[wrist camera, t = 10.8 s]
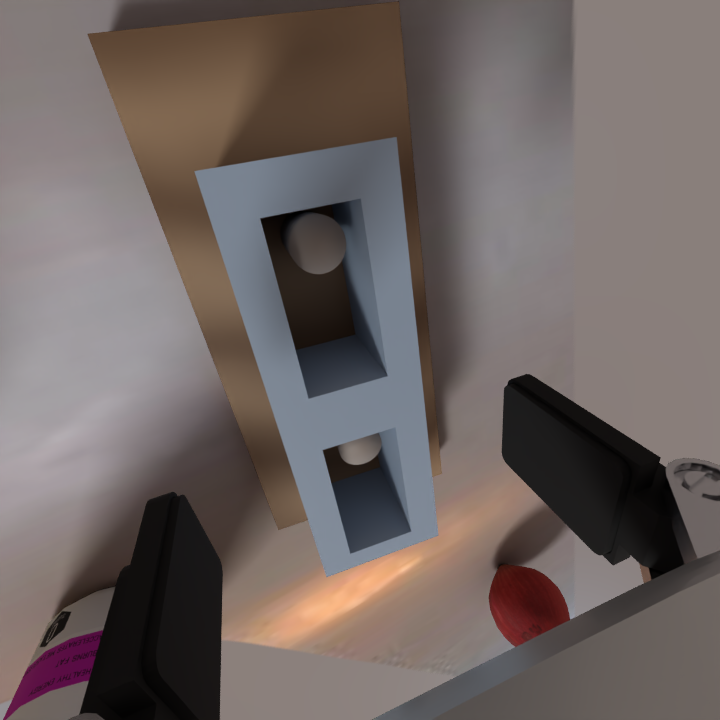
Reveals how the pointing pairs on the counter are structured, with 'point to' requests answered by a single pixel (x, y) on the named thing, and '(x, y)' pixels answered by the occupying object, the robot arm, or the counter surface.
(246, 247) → the two-pocket blue tray
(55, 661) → the supplement can
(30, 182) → the counter surface
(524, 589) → the onion
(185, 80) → the walnut board
